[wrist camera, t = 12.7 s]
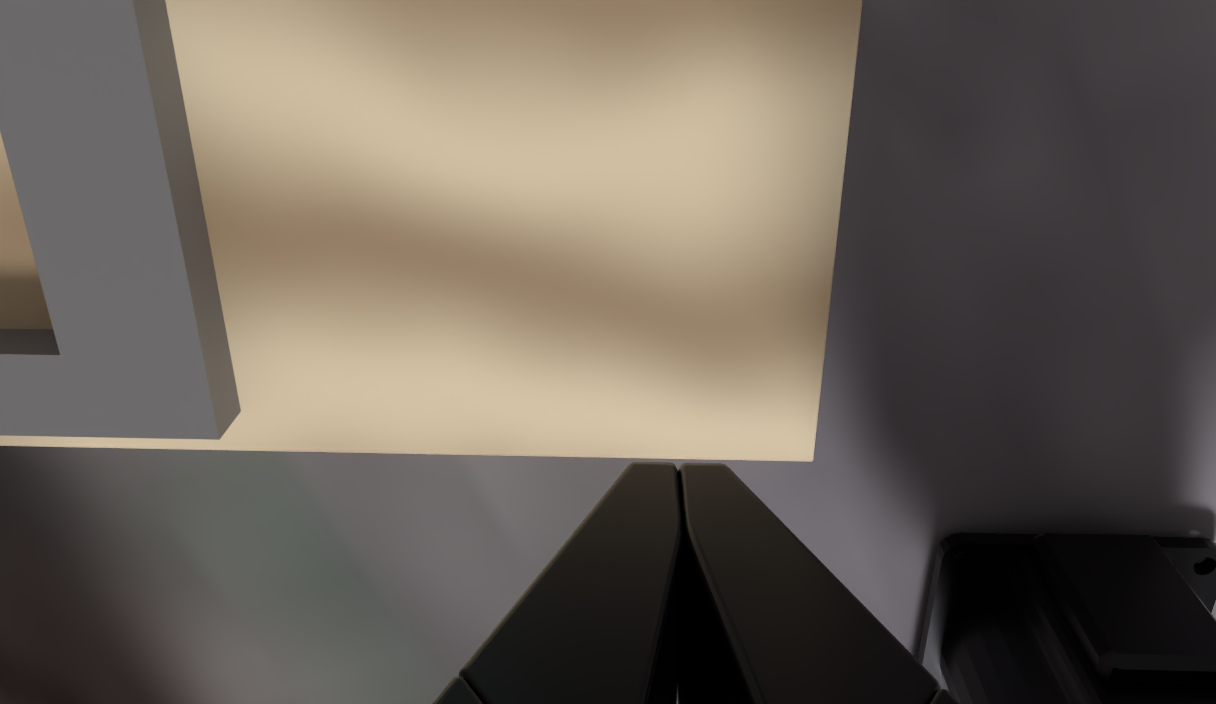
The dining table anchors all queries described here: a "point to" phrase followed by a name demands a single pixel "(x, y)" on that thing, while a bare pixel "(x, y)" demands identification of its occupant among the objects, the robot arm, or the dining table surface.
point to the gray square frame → (109, 230)
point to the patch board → (510, 222)
